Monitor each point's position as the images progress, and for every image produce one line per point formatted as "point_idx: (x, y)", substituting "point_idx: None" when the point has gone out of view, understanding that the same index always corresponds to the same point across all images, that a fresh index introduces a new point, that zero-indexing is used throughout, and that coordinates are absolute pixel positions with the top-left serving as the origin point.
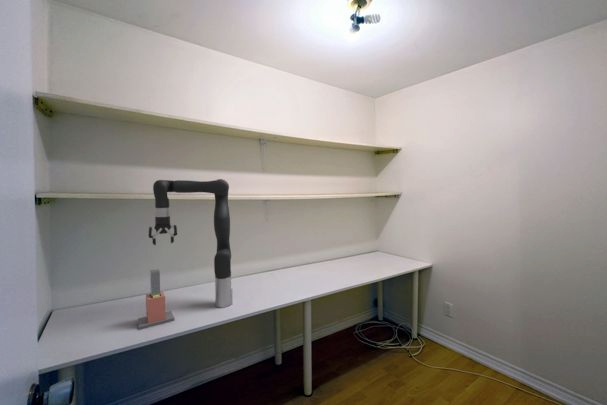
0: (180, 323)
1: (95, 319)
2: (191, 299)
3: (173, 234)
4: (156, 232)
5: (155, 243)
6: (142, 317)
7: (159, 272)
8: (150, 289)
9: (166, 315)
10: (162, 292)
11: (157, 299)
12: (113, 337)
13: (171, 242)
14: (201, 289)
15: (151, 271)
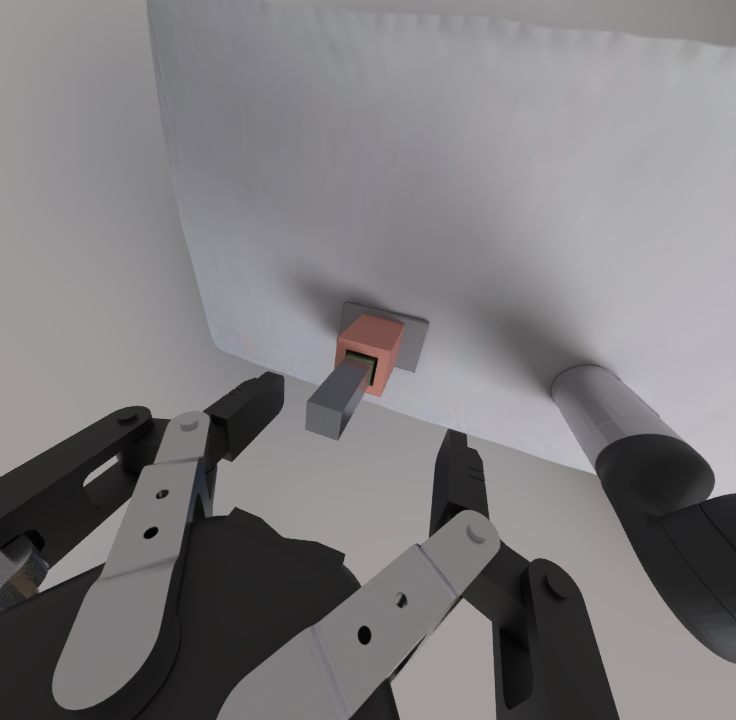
0: (420, 389)
1: (261, 195)
2: (542, 263)
3: (473, 599)
4: (161, 501)
5: (268, 420)
6: (354, 307)
7: (339, 436)
8: (341, 361)
9: (405, 344)
10: (384, 364)
11: None
12: (296, 336)
13: (436, 470)
14: (675, 169)
15: (310, 417)
